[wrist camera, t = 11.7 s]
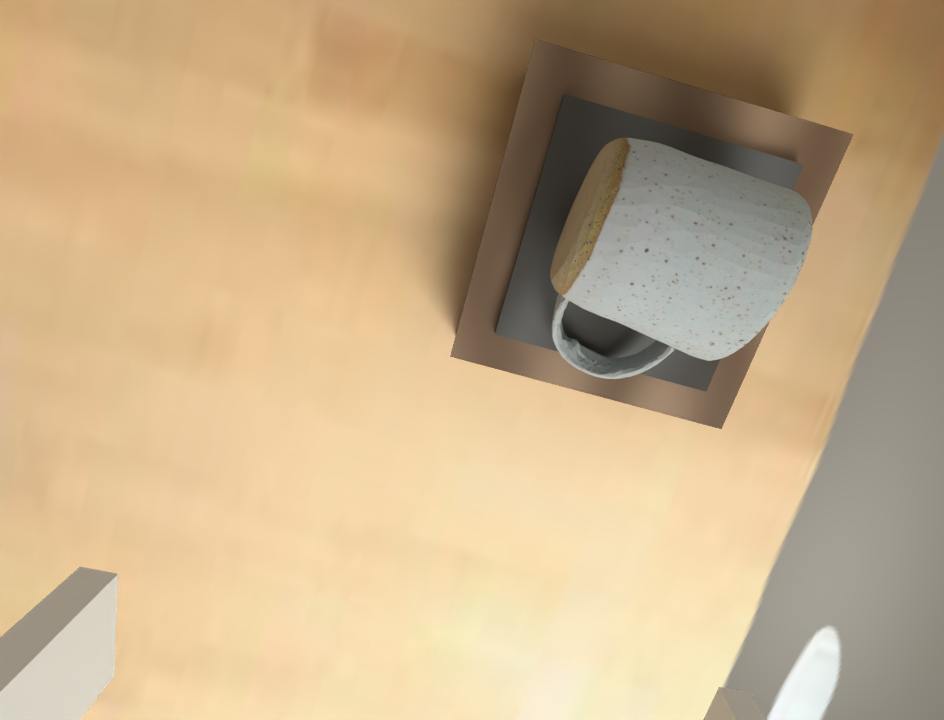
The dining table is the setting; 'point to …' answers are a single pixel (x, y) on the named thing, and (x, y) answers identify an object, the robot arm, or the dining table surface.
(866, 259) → the dining table surface
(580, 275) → the ceramic mug
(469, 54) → the dining table surface
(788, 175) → the walnut base
